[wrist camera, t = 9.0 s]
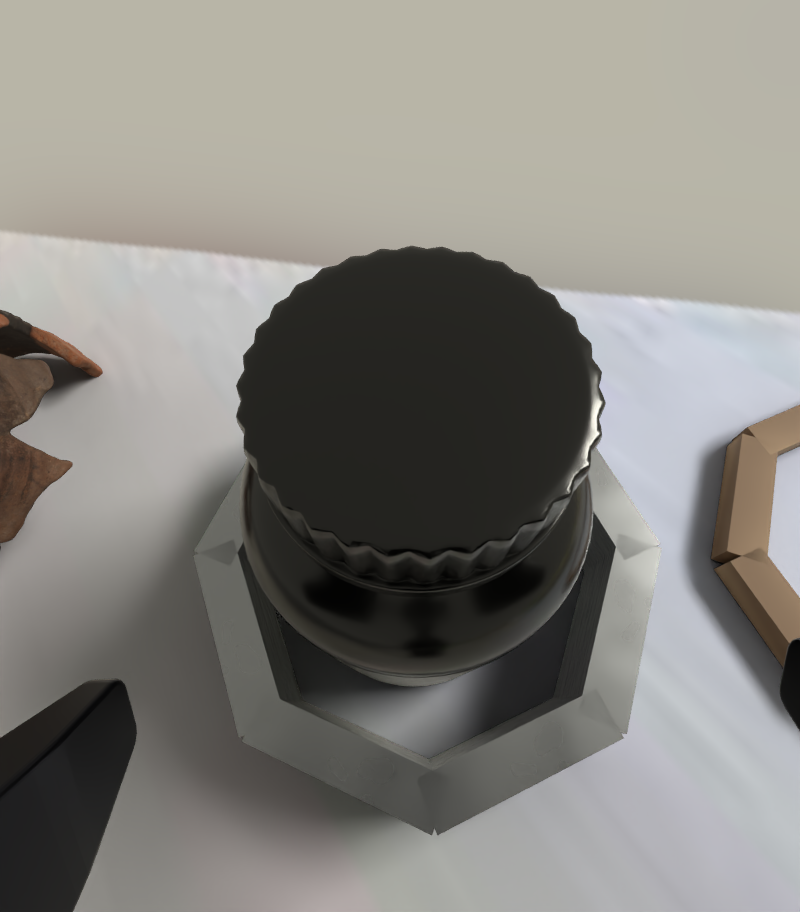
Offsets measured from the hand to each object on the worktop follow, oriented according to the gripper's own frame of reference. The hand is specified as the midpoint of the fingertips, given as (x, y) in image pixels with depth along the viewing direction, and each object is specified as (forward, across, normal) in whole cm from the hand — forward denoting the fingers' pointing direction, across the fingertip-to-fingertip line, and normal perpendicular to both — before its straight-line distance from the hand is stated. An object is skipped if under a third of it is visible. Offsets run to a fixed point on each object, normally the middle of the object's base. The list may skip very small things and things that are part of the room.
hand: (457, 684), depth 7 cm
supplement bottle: (+10, 0, +4) cm, 11 cm away
